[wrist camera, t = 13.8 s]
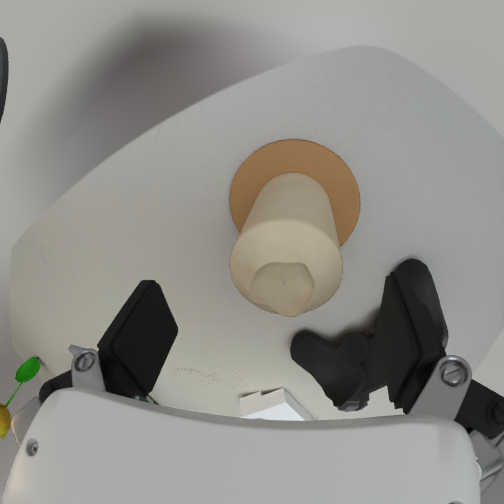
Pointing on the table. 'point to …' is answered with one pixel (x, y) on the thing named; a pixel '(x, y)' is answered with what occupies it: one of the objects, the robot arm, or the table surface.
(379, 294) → the table surface
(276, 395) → the bracket
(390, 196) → the table surface
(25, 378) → the flower
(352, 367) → the game controller
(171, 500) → the robot arm
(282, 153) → the coaster
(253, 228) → the candle
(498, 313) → the table surface
